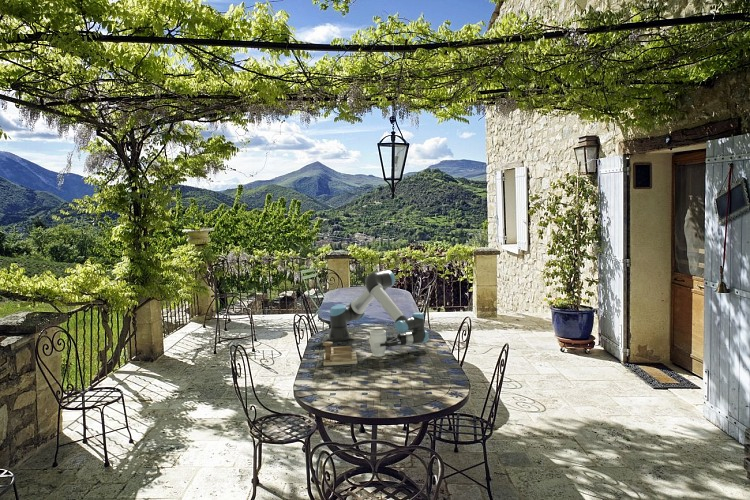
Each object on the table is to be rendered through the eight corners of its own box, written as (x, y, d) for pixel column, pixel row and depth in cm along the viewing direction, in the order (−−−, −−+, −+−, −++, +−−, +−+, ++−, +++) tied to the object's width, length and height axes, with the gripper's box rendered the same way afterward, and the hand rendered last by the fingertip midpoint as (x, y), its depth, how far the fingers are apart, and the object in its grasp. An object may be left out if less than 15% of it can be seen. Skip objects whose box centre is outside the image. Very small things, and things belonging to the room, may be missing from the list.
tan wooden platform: (324, 355, 335) (323, 336, 334) (355, 353, 336) (355, 334, 335) (323, 365, 313) (322, 345, 312) (357, 363, 314) (356, 343, 313)
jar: (385, 357, 324) (384, 333, 323) (368, 357, 326) (367, 333, 325) (388, 352, 335) (387, 329, 333) (372, 352, 337) (371, 329, 335)
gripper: (412, 349, 325) (378, 353, 318) (398, 340, 347) (366, 344, 339) (411, 337, 324) (377, 341, 317) (397, 329, 346) (365, 333, 339)
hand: (371, 343), depth 328 cm, fingers closed on jar, 10 cm apart
